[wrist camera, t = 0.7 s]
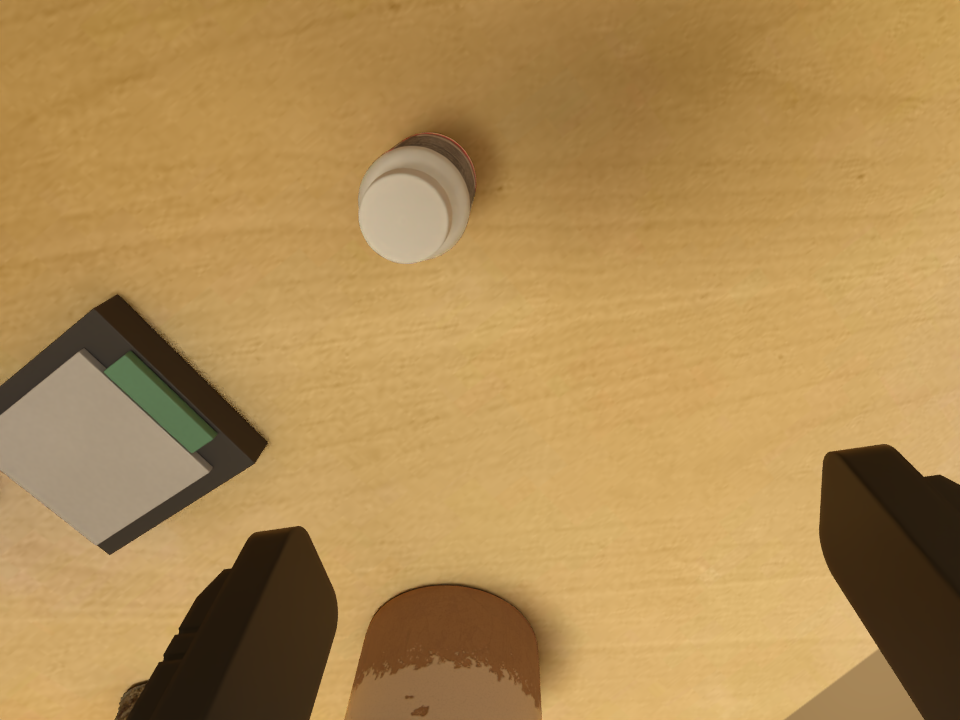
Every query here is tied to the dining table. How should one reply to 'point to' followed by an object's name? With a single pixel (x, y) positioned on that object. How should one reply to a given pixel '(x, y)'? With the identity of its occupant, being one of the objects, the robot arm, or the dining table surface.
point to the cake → (129, 701)
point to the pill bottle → (417, 198)
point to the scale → (118, 429)
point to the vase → (447, 660)
